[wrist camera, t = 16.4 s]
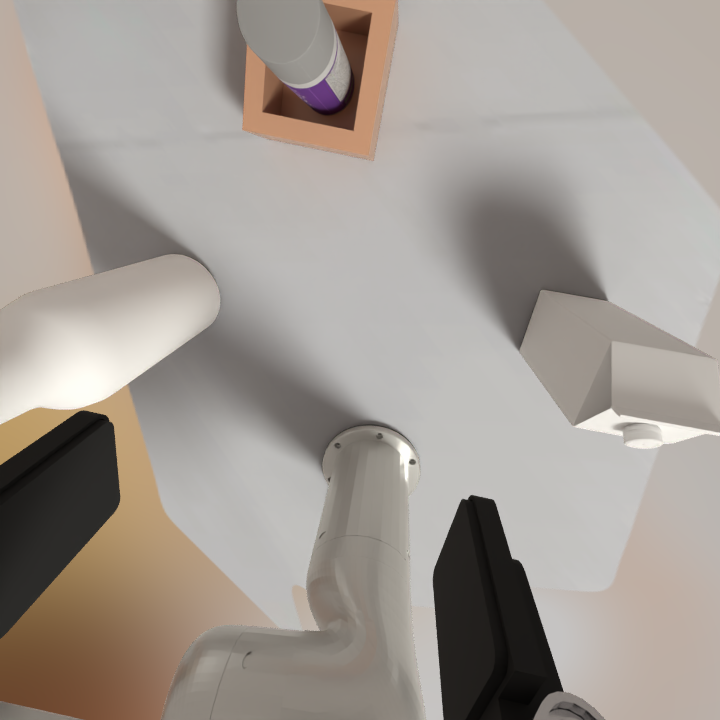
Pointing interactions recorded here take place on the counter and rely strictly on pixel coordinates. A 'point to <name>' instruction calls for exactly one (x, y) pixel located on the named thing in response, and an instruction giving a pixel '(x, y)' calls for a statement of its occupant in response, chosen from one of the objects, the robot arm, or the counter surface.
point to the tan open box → (371, 72)
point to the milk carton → (620, 372)
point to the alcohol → (99, 332)
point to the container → (300, 49)
